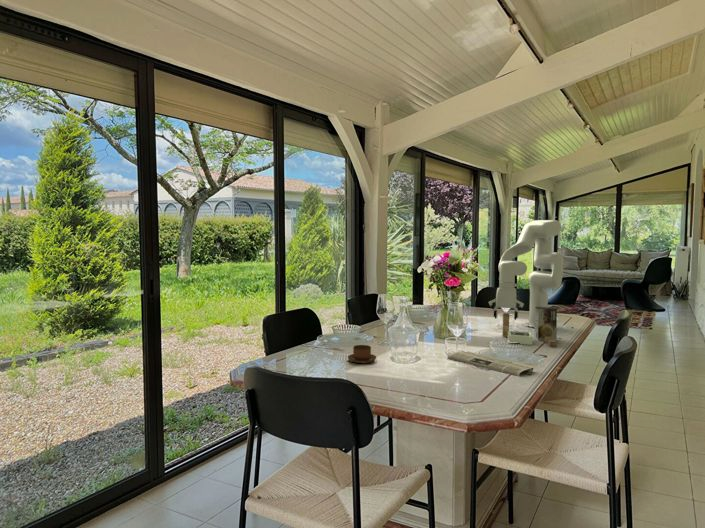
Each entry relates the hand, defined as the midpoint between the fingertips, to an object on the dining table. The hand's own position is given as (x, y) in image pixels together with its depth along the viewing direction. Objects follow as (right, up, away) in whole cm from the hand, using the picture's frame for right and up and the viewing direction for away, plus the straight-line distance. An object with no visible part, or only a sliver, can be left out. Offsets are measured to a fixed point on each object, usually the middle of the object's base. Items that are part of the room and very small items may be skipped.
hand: (505, 318), depth 257 cm
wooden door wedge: (+17, -11, -16) cm, 26 cm away
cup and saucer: (-75, -13, -47) cm, 89 cm away
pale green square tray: (+4, -10, -11) cm, 15 cm away
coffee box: (+18, -10, -5) cm, 22 cm away
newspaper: (-22, -14, -51) cm, 57 cm away
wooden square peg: (0, -9, +1) cm, 9 cm away
